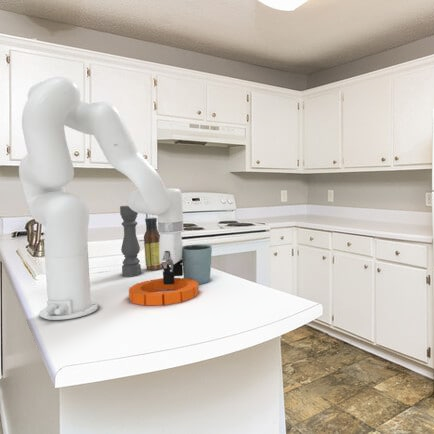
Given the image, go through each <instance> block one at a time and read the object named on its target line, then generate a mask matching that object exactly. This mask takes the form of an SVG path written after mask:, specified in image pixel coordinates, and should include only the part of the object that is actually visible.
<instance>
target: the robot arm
mask: <svg viewBox="0 0 434 434" xmlns="http://www.w3.org/2000/svg"><path fill="white" fill-rule="evenodd" d="M65 127H67V128H69V129H71V130H74V131H77V132H79V133H82V134H85V135H89V136H93V137H94V138H95V140H96V142H97V144H98V145H99V147H100V149H101V151H102V154H103V155H104V157H105V159H106V161H107V162H108V164H109V165H110V166H111V167H112V168H114V169H115V170H117V171H118V172H119V173H121V174H123V175H125V176H126V178H128V179H129V180H130V181H131V182H132V183H133V184H134V185H135V187H136V188H137V189H135V190H133V191H131V192H130V193H129V194H128V196H127V199H126V202H127V206H129V207H130V209H132V210H133V211H135V212H137V213H138V214H143V215H152V216H153V215H154V216H157V230H158V233H159V234H160V239H159V263H160V264H161V265H163V267H162V268H161V269H162V278H163V283H164V285H168V284H174V283H175V281H174V278H175V277H183V276H184V275H183V264H182V257H183V236H182V233H184V231H185V230H184V211H183V210H184V209H183V194H182V190H181V189H180V188H177V187H176V188H174V187H173V188H169V187H167V188H166V185H165V183H164V182H163V179H162V177H161V176H160V174H159V173H158V172H157V170H156V169H155V168H154V167H153V166H152V164H150V162H148V160H147V159H146V158H145V157H144V156H143V155H142V154H141V153H140V152H139V150H138V148H137V146H136V144H135V142H134V140H133V138H132V135H131V133H130V132H129V129H128V127H127V126H126V124H125V121H124V119H123V118H122V116H121V113H120V112H119V110H118V108H117V107H116V106H115V105H113V104H112V103H110V102H105V101H98V102H97V101H96V102H92V103H88V102H85V101H83V100H81V91H80V88H79V86H78V85H77V83H75V82H74V81H73V80H72V79H70V78H68V77H65V76H53V77H50V78H47V79H44V80H43V81H40V82H36V84H34V85H32V86H31V87H30V88H29V90H28V92H27V100H26V102H25V104H24V107H23V110H22V114H21V128H22V133H23V139H24V144H25V147H26V151H27V154H26V155H25V156H23V157H22V158H21V160H20V162H19V166H18V176H19V180H20V184H21V187H22V190H23V194H24V197H25V201H26V204H27V207H28V211H29V213H30V215H31V217H32V219H34V220H35V222H36V223H38V224H40V225H42V226H44V227H45V231H44V238H43V239H44V241H43V252H44V261H45V262H44V263H45V278H46V291H47V293H46V294H47V306H46V307H45V308H43V309H41V310H39V317H41V318H43V319H44V320H50V321H61V320H62V321H63V320H71V319H77V318H80V317H81V318H82V317H85V316H89V315H90V314H92V313H95V312H96V311H97V310H98V307H99V306H98V302H96V301H92V300H91V299H92V297H91V280H90V279H91V278H90V264H89V261H90V260H89V249H88V248H89V246H88V231H89V223H90V210H89V206H88V204H87V203H86V202H85V200H84V199H83V198H82V197H80V196H79V195H77V194H74V193H71V192H66V186H67V185H69V184H70V183H71V182H72V181H73V179H74V176H75V168H74V164H73V160H72V157H71V154H70V149H69V147H68V141H67V138H66V132H65Z"/></svg>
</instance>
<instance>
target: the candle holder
mask: <svg viewBox="0 0 434 434" xmlns="http://www.w3.org/2000/svg"><path fill="white" fill-rule="evenodd" d="M119 213H120V217H121V219H122V222H121V226H122V227H123V239H122V243H121V247H120V248H121V249H120V250H121V253H122V255H123V256H124V259H123V260H122V264H123V265H121V275H122V277H126V278H127V277H128V278H129V277H137V276H140V275H142V265H141V263H140V259H139V258H138V256H139V253H140V250H141V247H140V244H139V240H138V236H137V228H136V227H137V225H138V221H136V220H137V218H138V215H139V213H137V212H135V211H133V210H132V209H130V207H129V206H128V205H120V206H119Z"/></svg>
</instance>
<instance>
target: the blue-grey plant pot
mask: <svg viewBox="0 0 434 434" xmlns="http://www.w3.org/2000/svg"><path fill="white" fill-rule="evenodd" d="M182 247H183V257H182V265H183V275H182V276H183V278H186V279H192V280H195V281H196V282H197V283H198V285H203V284H207V283H209V282H210V281H211V271H212V270H211V269H212V267H211V266H212V253H213V246H212V245H209V244H201V243H200V244H199V243H198V244H188V245H182Z"/></svg>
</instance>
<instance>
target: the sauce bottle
mask: <svg viewBox="0 0 434 434" xmlns="http://www.w3.org/2000/svg"><path fill="white" fill-rule="evenodd" d="M144 222H145V233H144V235H143V248H144V258H145V259H144V260H145V266H146V267H145V268H146V270H148V271H156V270H157V271H158V270H161V269H163V268H162V267H163V265H161V264H160V263H159V239H160V233H158V217H154V216H153V217H152V216H151V217H145V219H144Z"/></svg>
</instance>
